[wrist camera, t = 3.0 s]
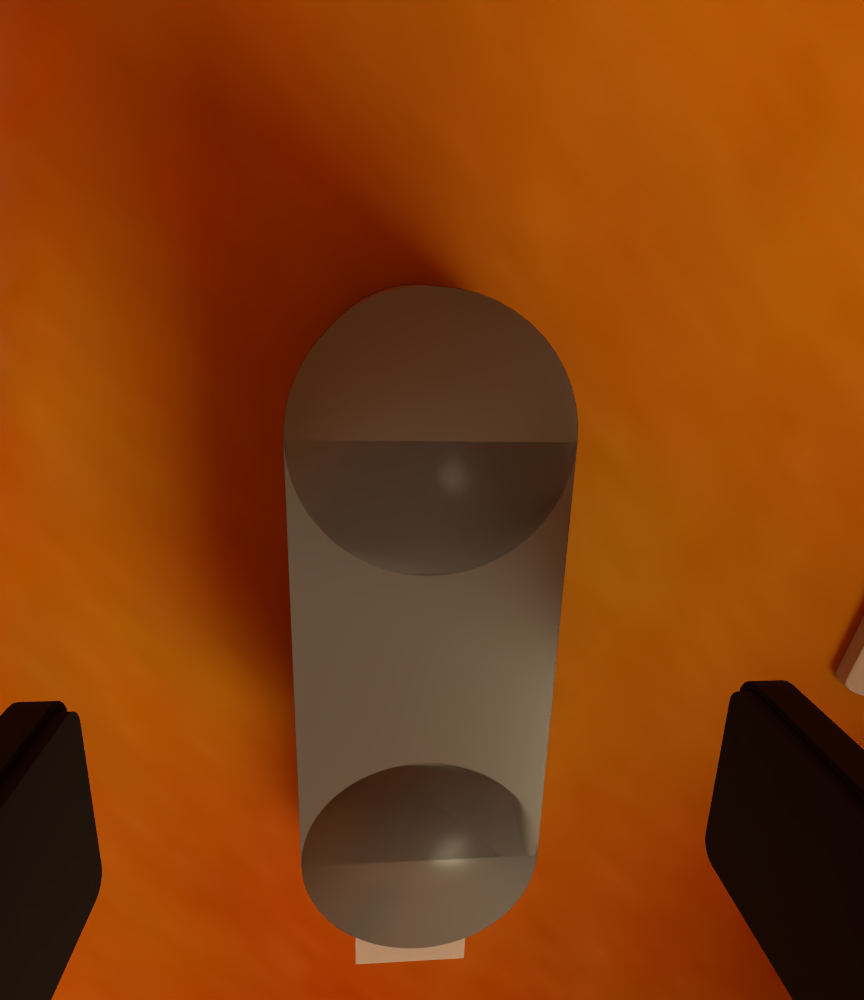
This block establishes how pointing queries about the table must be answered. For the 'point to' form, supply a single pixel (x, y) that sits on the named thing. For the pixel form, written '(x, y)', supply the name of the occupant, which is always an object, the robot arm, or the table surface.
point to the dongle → (425, 611)
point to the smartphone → (853, 663)
